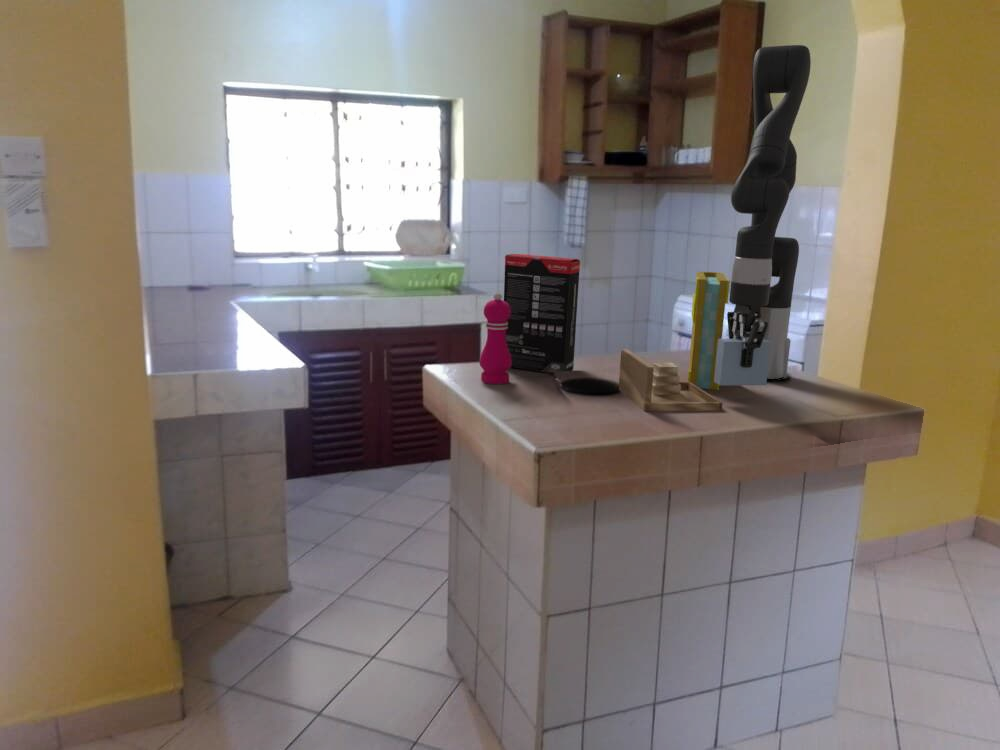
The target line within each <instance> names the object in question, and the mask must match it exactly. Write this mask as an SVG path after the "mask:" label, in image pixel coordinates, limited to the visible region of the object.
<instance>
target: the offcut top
mask: <svg viewBox="0 0 1000 750" xmlns="http://www.w3.org/2000/svg"><path fill="white" fill-rule="evenodd" d="M652 366H653V367H654V373H655V374H657V375H658V376H677V375H679V374H678V373H679V366H678V365H677V364H676V365H675V363H672V362H653V364H652Z"/></svg>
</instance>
